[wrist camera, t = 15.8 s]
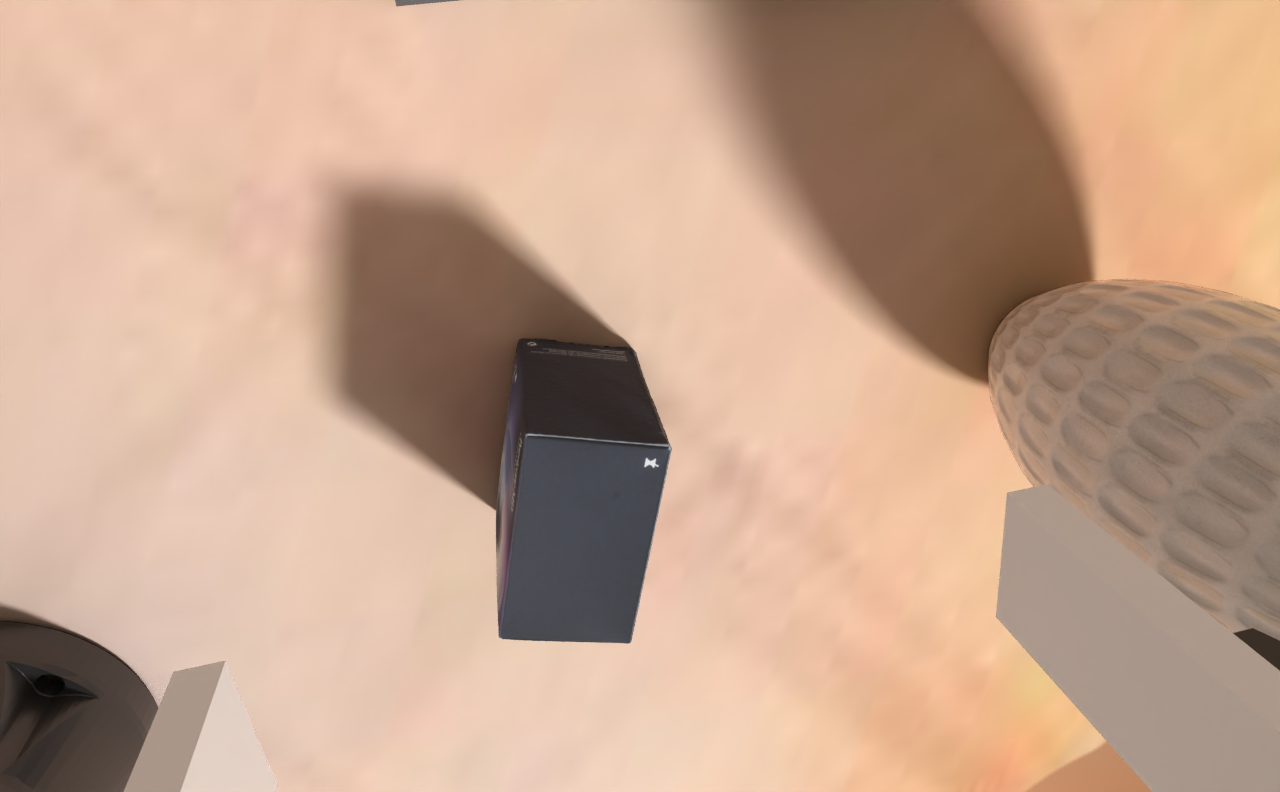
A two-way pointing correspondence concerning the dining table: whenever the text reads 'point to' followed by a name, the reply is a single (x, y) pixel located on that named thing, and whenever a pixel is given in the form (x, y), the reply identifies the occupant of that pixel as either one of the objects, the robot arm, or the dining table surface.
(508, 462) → the small box
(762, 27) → the dining table surface
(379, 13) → the dining table surface
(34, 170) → the dining table surface
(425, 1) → the grey slotted plate
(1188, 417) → the vase
